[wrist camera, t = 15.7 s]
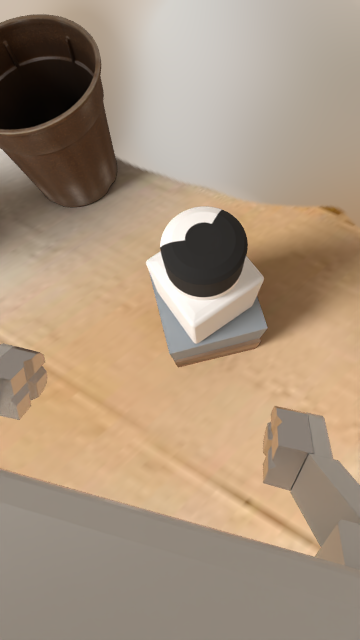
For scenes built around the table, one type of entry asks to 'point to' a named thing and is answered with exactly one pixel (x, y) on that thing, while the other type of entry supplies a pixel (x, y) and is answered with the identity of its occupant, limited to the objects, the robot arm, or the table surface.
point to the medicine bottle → (204, 270)
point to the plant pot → (55, 108)
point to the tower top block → (231, 333)
